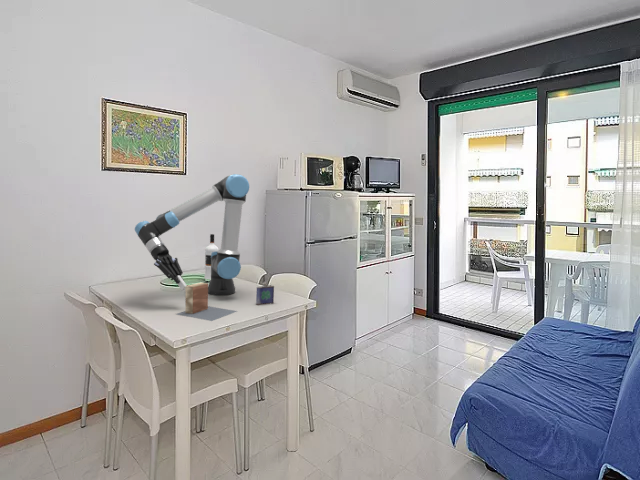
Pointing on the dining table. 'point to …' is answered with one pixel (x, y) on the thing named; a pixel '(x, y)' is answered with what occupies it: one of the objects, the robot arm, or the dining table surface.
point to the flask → (265, 294)
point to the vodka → (209, 256)
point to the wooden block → (196, 298)
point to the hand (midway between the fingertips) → (184, 288)
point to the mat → (209, 313)
